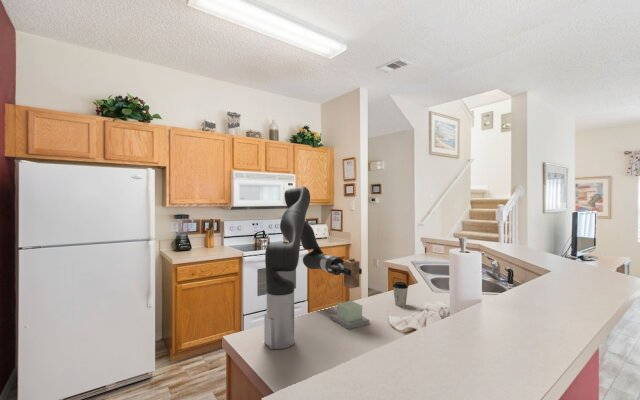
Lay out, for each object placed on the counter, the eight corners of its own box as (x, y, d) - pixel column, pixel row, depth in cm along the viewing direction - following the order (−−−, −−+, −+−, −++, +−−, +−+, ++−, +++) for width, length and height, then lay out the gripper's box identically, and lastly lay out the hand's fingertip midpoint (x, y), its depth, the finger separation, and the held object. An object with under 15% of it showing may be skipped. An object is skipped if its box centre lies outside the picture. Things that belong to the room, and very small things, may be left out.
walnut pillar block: (350, 288, 118) (350, 260, 118) (343, 285, 122) (343, 258, 122) (359, 286, 120) (359, 259, 120) (352, 284, 124) (352, 257, 124)
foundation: (348, 329, 113) (348, 311, 113) (330, 318, 123) (330, 302, 123) (369, 323, 118) (369, 306, 118) (350, 313, 128) (350, 298, 129)
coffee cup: (411, 306, 137) (411, 284, 137) (398, 308, 135) (398, 285, 135) (402, 301, 144) (402, 280, 144) (389, 303, 141) (389, 282, 141)
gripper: (318, 257, 130) (340, 264, 115) (345, 254, 137) (370, 260, 122) (318, 275, 130) (340, 284, 115) (345, 271, 137) (370, 279, 122)
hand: (355, 272), depth 119 cm, fingers closed on walnut pillar block, 4 cm apart
